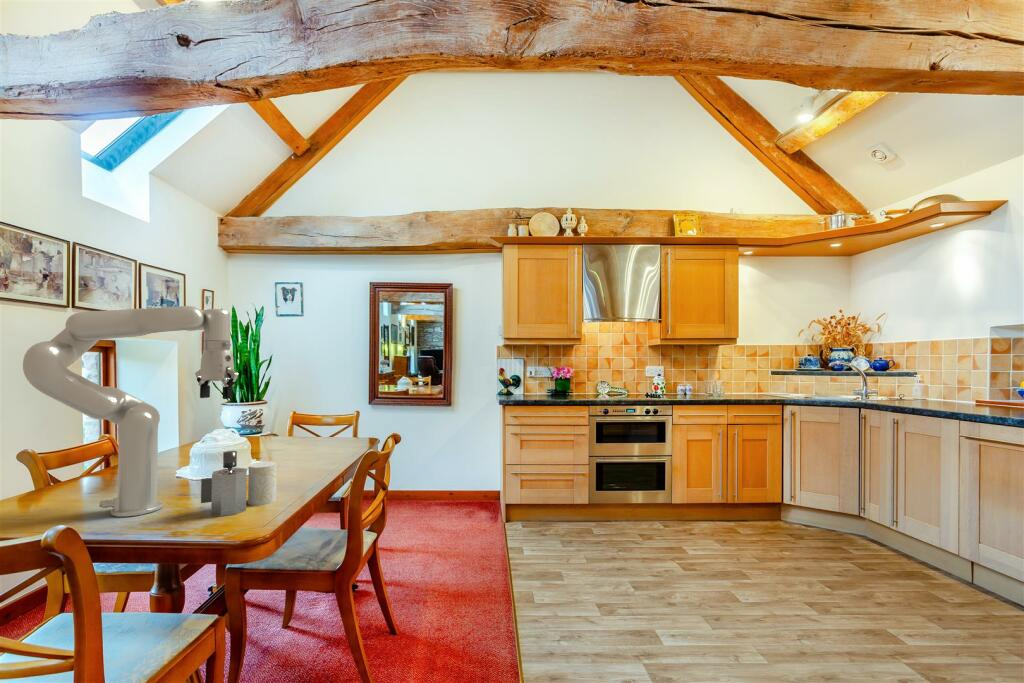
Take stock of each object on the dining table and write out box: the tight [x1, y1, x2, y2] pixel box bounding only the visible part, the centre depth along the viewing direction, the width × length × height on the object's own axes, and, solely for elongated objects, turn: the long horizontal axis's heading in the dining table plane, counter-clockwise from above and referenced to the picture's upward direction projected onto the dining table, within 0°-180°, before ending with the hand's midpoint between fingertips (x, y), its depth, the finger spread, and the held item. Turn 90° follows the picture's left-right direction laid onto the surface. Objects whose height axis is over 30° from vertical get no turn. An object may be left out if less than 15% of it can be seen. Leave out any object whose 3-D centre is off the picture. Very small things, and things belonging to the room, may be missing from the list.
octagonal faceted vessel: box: [200, 467, 248, 517], centre depth 147 cm, size 12×9×12 cm
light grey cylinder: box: [247, 461, 278, 506], centre depth 157 cm, size 8×8×12 cm
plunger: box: [222, 450, 238, 473], centre depth 148 cm, size 4×4×17 cm
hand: (216, 398), depth 160 cm, fingers open, 9 cm apart
